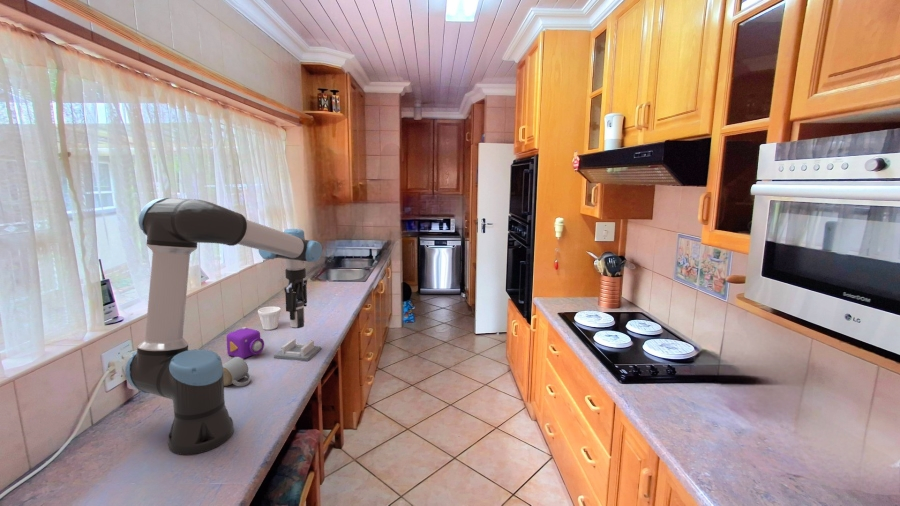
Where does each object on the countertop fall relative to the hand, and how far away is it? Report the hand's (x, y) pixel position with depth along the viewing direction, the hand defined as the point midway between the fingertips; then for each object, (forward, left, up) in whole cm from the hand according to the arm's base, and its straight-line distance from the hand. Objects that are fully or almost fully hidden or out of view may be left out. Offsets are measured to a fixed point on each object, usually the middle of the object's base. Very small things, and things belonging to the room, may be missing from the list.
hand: (297, 324), depth 164 cm
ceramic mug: (-26, +9, -13) cm, 31 cm away
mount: (0, 0, -12) cm, 12 cm away
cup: (+24, +27, -13) cm, 38 cm away
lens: (0, 0, -1) cm, 1 cm away
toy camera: (-5, +19, -13) cm, 23 cm away
